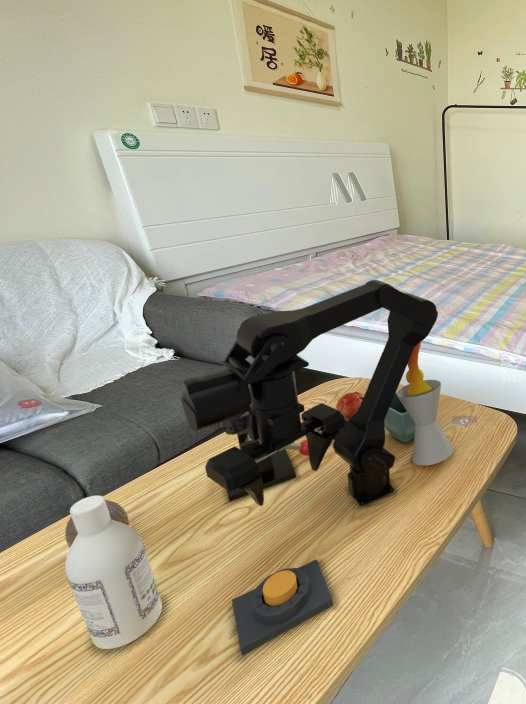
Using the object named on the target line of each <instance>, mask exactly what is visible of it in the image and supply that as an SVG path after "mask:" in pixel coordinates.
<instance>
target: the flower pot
mask: <svg viewBox="0 0 526 704" xmlns="http://www.w3.org/2000/svg"><path fill="white" fill-rule="evenodd" d="M397 392H398V391H396V393H395V396H394V398H393V401H392V403H391V405H390V408H389V410H388V413H387V415H386V417H385V421H384V425H385V431H387V432H388V433H389V434H390V436H392V437H394V438H395V439H398V440H399V441H401V442H402V443H407V442H409V441H411V440H412V439H414V438H415V428H416V424H415V422H414V421H413V419H412V418H411V416H410V415H409V413H408V412H407V410H406V409H405V407H404V406H403V404H402V403H401V401H400V400H399V398H398V396H397Z"/></svg>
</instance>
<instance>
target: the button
mask: <svg viewBox="0 0 526 704" xmlns="http://www.w3.org/2000/svg"><path fill="white" fill-rule="evenodd" d="M279 571H280V570H279ZM276 572H277V573H276ZM276 572H274V573H275V574H274V575H272V576H271V577H270V578H268V579H267V581H266V582H265V584H264V586H263V595H264V600H265V602H266V604H268V605H270V606H279V605H282V604H284V603H286V602H288V601H289V600H290V599H291V598H292V597H293V596H294V595H295V593H296V591H297V581H296V576H295V574H294V573H293V572H292V571H288V570H285V571H280V572H278V571H276Z"/></svg>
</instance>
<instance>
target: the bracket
mask: <svg viewBox="0 0 526 704" xmlns="http://www.w3.org/2000/svg"><path fill="white" fill-rule="evenodd" d="M247 434H249V433H244V434H240V433H237V434H236V436H237V441H238V446H239V449H240V450H242V451H244V452H246V451H248V450H250V449H252V448H254V447H256V446H258V445H260V442H259V440H258V439H257V440H255V441H254V440H251V441H248V442H244V441H245V439H246V437H247ZM287 451H288V450H287V449H281V450H280V451H278V452H276V453H274V454H272V455H270V456H269V457H267V458H265V459H263V460H261V461H260V462H258V463H257V465H258V470H259V471H258V473H257V474H259V475H260V476H262V484H263V490H266V489H269V488H272V487H273V486H277V485H279V484H282V483H285V482H288V481H291V480H293V479H296V478H297V473H296V470H295V468H294V466H293V463H292V460H291V458H290V456H289V454H288V452H287ZM226 493H227V496H228V502H230V503H231V502H233V501H236V500H239V499H241V498H244V497H248V496H250V495H249V494H248V492H247V491H246V490H245V489H243V490H238V489H235V490H230V491H228V490H226Z"/></svg>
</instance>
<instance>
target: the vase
mask: <svg viewBox="0 0 526 704" xmlns="http://www.w3.org/2000/svg"><path fill="white" fill-rule="evenodd" d="M105 502H106V505H107V508H108V511H109V514H110V518H111V520H115V521H118V522H121V523H124V524H126V525H128V526H130V521H129V516H128V513H127V511H126V510H125V508H124V507H123V506H122V505H120V503H118V502H115V501H112V500H108V499H105ZM77 535H78V532H77V530H76V527H75V525H74V522H73V519H72V517H71V516H70V518H69V519H68V522H66V527H65V532H64V537H65V538H64V539H65V541H66V544H67V546H68V547H69V548H68V549H70V547H71V545H72V543H73V542H74V540H75V538H76V536H77Z"/></svg>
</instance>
